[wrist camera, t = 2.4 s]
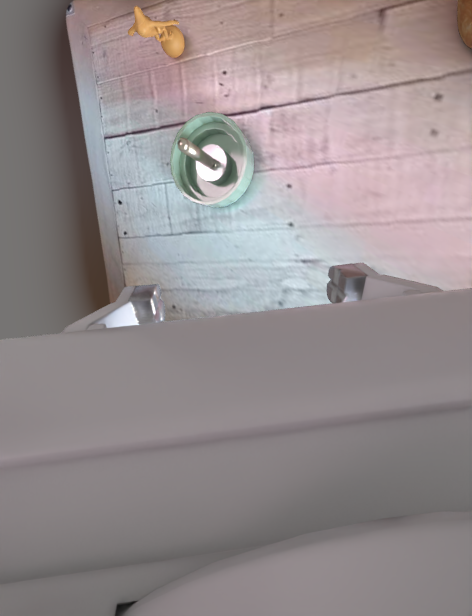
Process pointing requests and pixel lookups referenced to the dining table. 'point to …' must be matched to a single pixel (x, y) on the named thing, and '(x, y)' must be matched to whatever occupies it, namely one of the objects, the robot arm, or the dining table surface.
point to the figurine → (159, 32)
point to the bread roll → (465, 21)
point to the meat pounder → (208, 161)
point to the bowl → (231, 141)
